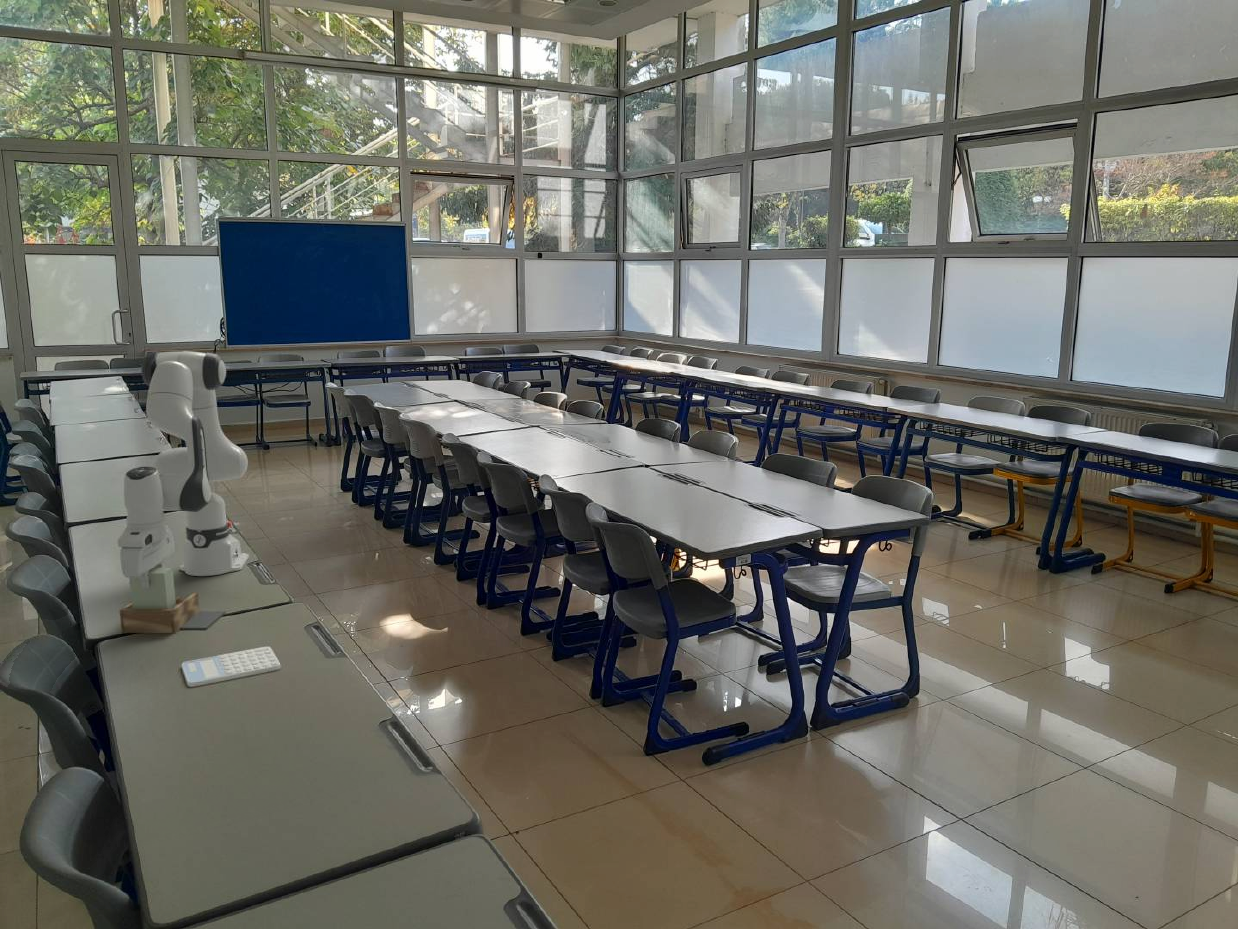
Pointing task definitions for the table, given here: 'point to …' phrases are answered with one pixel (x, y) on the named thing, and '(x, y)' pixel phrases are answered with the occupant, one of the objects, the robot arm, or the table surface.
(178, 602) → the offcut upper
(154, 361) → the robot arm
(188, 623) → the mat
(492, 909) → the table surface
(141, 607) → the sage green thick block
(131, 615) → the rack
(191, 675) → the calculator
